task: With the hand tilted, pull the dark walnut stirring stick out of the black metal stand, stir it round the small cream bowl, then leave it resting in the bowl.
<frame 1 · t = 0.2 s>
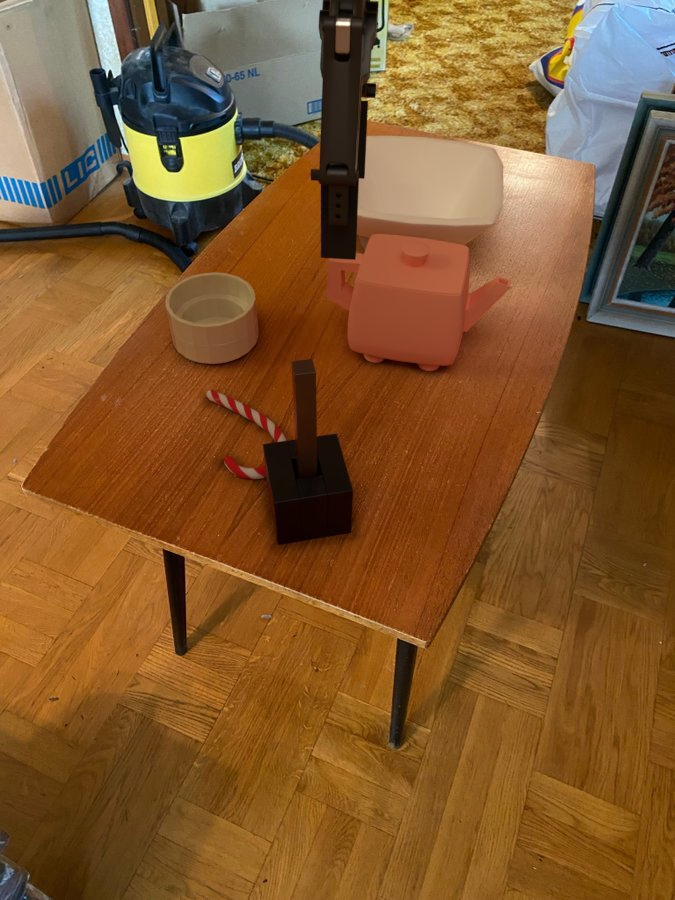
hand: (344, 213, 60), 28 cm above the table, tool pointing down, fingers open, 13 cm apart
stick stand: (308, 509, 75), on the table
candy cane: (238, 436, 82), on the table
teapot: (409, 343, 93), on the table
stick: (306, 446, 67), in the stick stand
mixing bowl: (216, 339, 93), on the table
bowl: (411, 239, 109), on the table
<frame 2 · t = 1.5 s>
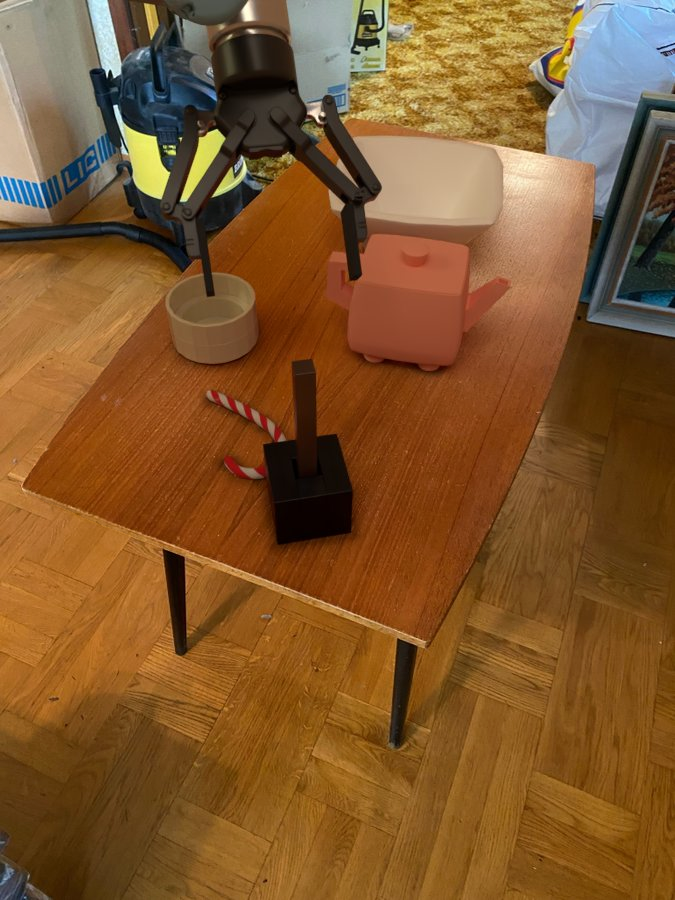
hand: (284, 286, 66), 21 cm above the table, tool tilted 45°, fingers open, 13 cm apart
nothing on the table moved.
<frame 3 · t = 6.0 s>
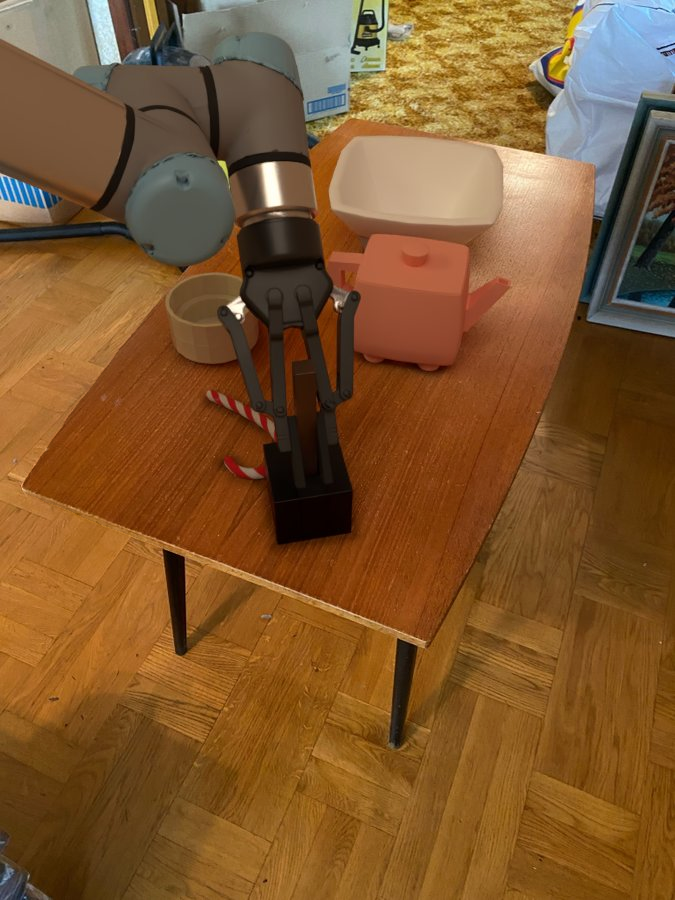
hand: (313, 483, 65), 9 cm above the table, tool tilted 45°, fingers closed on stick, 2 cm apart
stick: (306, 446, 67), in the stick stand, touching gripper
everything else where it was.
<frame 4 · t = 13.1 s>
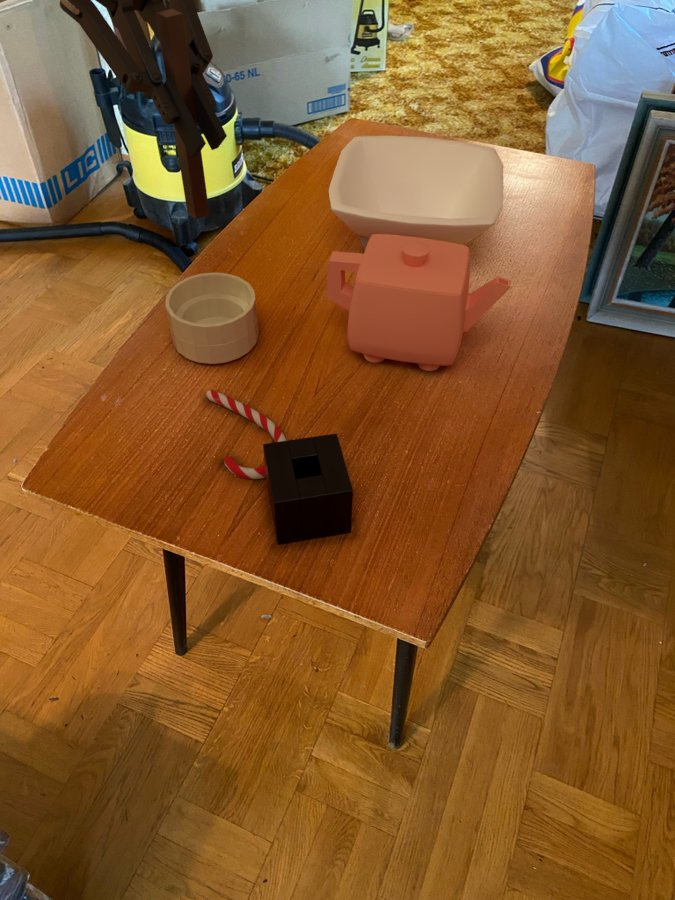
hand: (208, 146, 71), 27 cm above the table, tool tilted 45°, fingers closed on stick, 2 cm apart
stick: (185, 124, 72), point 28 cm above the table, touching gripper
everything else where it was.
when the fingers open (10 cm above the table, at t = 20.2 s): stick stays where it is, resting on mixing bowl.
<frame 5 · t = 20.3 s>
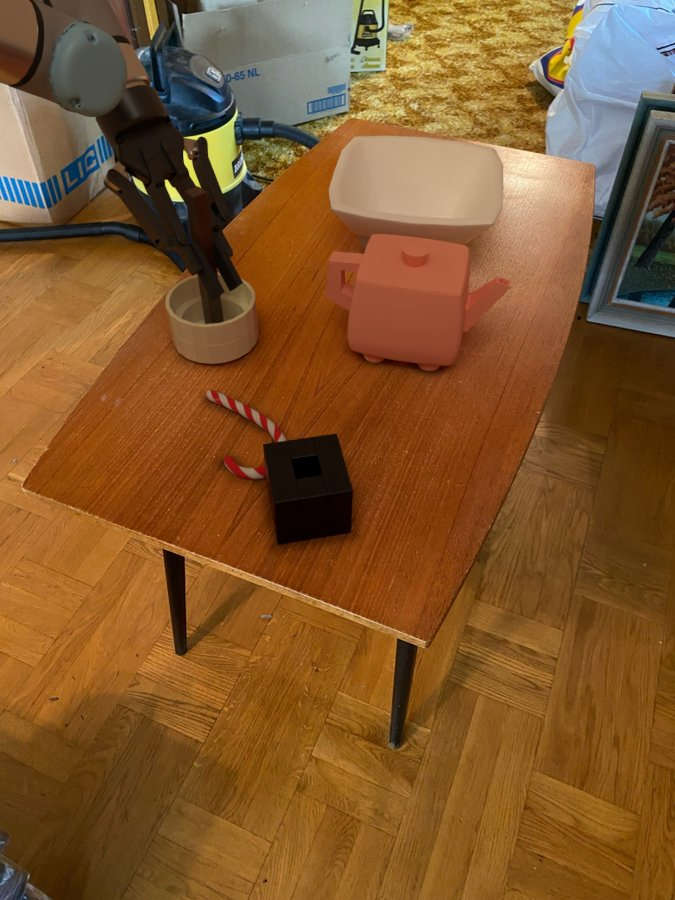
hand: (227, 291, 84), 10 cm above the table, tool tilted 45°, fingers closed
stick: (206, 269, 85), in the mixing bowl, point 11 cm above the table
everything else where it was.
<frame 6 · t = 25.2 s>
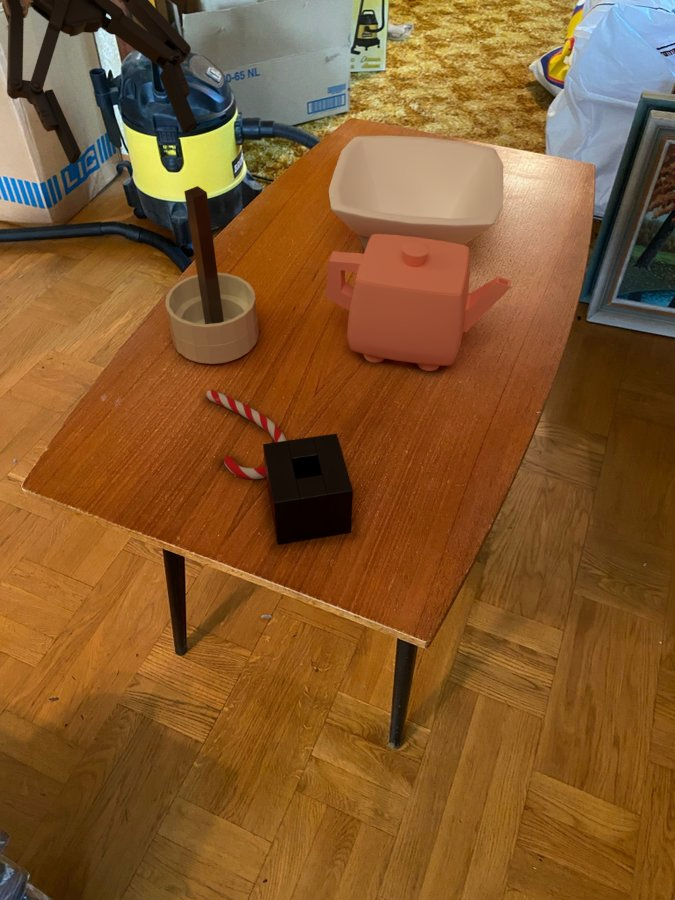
hand: (135, 143, 77), 24 cm above the table, tool tilted 40°, fingers open, 13 cm apart
nothing on the table moved.
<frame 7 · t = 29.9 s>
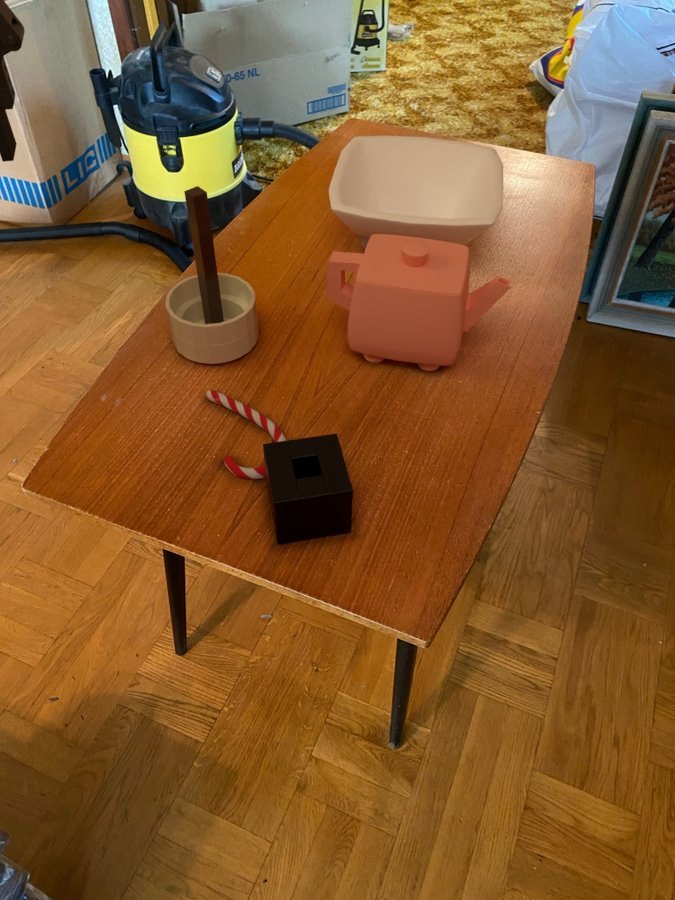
nothing on the table moved.
at the end: stick inside the target area in the mixing bowl (0.1 cm from its centre), point 10.6 cm above the mixing bowl's base; stick moved 30.4 cm from its start; the gripper is holding nothing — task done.
